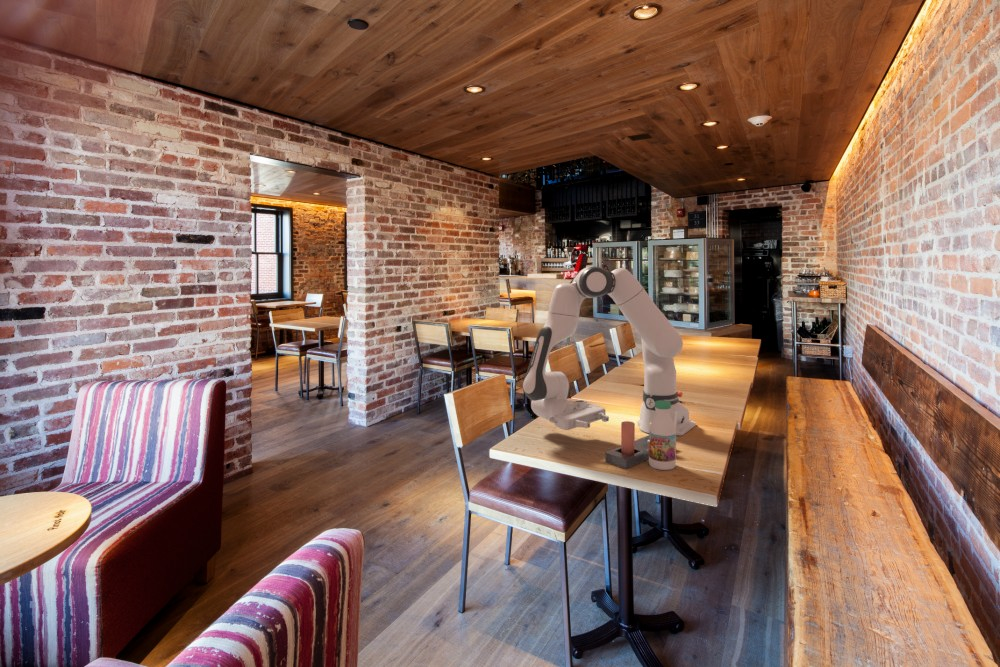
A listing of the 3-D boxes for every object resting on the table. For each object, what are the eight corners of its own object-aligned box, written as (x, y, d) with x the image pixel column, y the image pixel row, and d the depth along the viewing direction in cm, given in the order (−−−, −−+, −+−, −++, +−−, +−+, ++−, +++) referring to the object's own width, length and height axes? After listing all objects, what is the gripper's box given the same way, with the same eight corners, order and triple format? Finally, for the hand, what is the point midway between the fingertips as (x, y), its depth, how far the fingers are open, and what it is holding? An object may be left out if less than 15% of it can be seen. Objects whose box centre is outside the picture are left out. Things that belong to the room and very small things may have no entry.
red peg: (626, 456, 157) (626, 420, 155) (637, 460, 154) (637, 423, 152) (618, 460, 154) (618, 423, 153) (629, 463, 151) (629, 426, 150)
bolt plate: (652, 442, 169) (652, 416, 167) (673, 448, 162) (673, 422, 161) (605, 461, 153) (605, 433, 152) (626, 469, 147) (626, 440, 146)
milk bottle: (648, 459, 154) (649, 397, 151) (674, 461, 152) (675, 399, 149) (648, 469, 146) (649, 404, 144) (676, 472, 144) (677, 406, 142)
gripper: (546, 410, 166) (576, 419, 155) (586, 399, 178) (617, 407, 168) (546, 428, 167) (576, 439, 156) (587, 416, 179) (617, 424, 168)
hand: (598, 422), depth 162 cm, fingers open, 8 cm apart
